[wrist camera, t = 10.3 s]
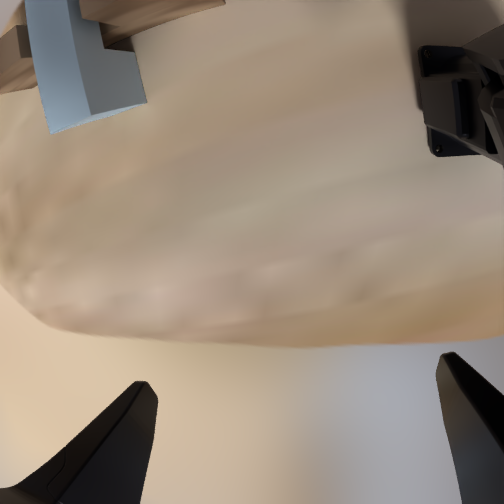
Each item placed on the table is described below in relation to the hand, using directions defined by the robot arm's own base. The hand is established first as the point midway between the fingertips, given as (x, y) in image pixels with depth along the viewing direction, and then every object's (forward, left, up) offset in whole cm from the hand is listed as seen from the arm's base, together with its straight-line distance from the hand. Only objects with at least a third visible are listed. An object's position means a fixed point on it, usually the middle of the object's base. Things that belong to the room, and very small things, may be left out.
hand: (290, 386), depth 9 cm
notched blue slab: (+8, -14, -12) cm, 20 cm away
